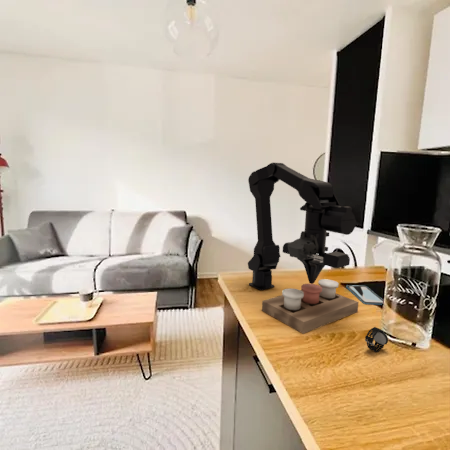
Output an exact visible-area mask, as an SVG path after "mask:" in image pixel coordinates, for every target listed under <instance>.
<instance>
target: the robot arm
mask: <svg viewBox="0 0 450 450" xmlns="http://www.w3.org/2000/svg"><path fill="white" fill-rule="evenodd" d="M247 181H248V187H249V191H250V193H251V194H252V196H253V197H254V200H255V201H254V202H255V215H256V230H257V233H256V234H257V235H256V236H257V242H256V243H255V246H254V248H253V256H252V257H251V258H250V260H249V261H248V262H247V267H248V270H250V271H252V282H250V283H248V285H249V286H251V287H253V288H254V289H257V290H259V291H263V290H267V289H272V288H275V285H274V284H272V280H273V274H272V273H273V272H272V270H276V269H277V267H278V264H279V263H280V258H281V254H280V245H279V244H276V243H275V241H274V239H273V225H272V208H271V206H272V205H271V196H272V194H273V192H274V189H275V184H276V183H278V182H279V181H281V182H282V183H285V184H287V185H288V186H289V187H291V188H292V189H295V190H296V192H298V195H299V196H300V198H302V200H303V201H304V202H305V203H304V204H303V205H302V206H301V207H300V208H299V210H300V211H303V212H305V218H304V219H305V220H304V221H305V222H304V230H303V231H301V233H300V236H299V238H297V239H295V240H293V241H291V242H285V243H284V244H283V246H282V253H284V254H286V255H287V254H288V255H289V257H291V258H296V259H297V260H299V261H300V262H301V263H302V264H303V266H304V270H305V273H306V275H307V279H308V282H309V283H308V284H315V282H316V280H317V279H318V276H319V275H320V274H321V272H322V271H323V269H324V267H325V266H327V267H331V268H335V269H338V268H343V267H346V266H347V267H348V266H349V265H350V260H351V258H350V256H349V255H348V253H343V252H340V251H333V252H332V251H331V252H328V251H329V247H328V246H326V242H327V237H329V236H330V232H332V233H336V234H341V235H346V236H347V235H348V236H349V235H350V234H352V233H353V231H354V230H355V228H356V224H357V219H356V216H355V214H354V213H353V212H352V210H353V208H352V207H351V206H342V204H341V203H340V202H339V200H338V197H337V195H336V193H335V192H334V187H333V185H332V184H331V183H330V182H328V181H324V180H320V179H314V178H310V177H308V176H305V175H304V174H302V173H300V172H298V171H296V170H294V169H293V168H291V167H288V166H287V165H286V164H285V163H283V162H271V163H269V164H267V165H266V166H264V167H261V168H259V169H256V170H255V171H252V172H251V173H250V175H249V176H248V180H247Z"/></svg>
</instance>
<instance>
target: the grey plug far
mask: <svg viewBox="0 0 450 450" xmlns="http://www.w3.org/2000/svg"><path fill="white" fill-rule="evenodd" d="M339 284H340V283H339V282H338V281H336V280H333V279H327V278H326V279H324V278H321V279H319V280H318V282H317V285H319V286H321V287H322V292H321V293H320V296H322V297H325V298H335V294H337V288H339Z"/></svg>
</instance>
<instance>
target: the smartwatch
mask: <svg viewBox="0 0 450 450" xmlns="http://www.w3.org/2000/svg"><path fill="white" fill-rule="evenodd" d="M364 341H365V342H366V346H367V348H368V349H369V350H370V351H373V352H375V353H378V352H380V351H381V350H382V349H383V348H384V346H385V345H388V343H389V338H388V335H387V334H386V332H385V331H384V330H382V329H381V328H378V327H376V326H374V327H372V328H370V330H369V331H368V332H367V334H365V336H364Z"/></svg>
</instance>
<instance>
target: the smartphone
mask: <svg viewBox="0 0 450 450" xmlns="http://www.w3.org/2000/svg"><path fill="white" fill-rule="evenodd" d="M345 288H346V289H347V290H348V291H349V292H350V293H351V294H353V296H354V297H356V298H357V299H358V300H359V301H360V302H361V303H362V304H364V305H368V306H371V305H374V306H376V305H377V306H383V305H382V304H383V300H384V299H383V298H382V297H381V296H379V295H378V294H377V293H375V292H374V291H373V290H372V289H371V288H369V286H367V285H360V284H359V285H357V284H354V285H352V284H349V285H348V284H346V286H345Z"/></svg>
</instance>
